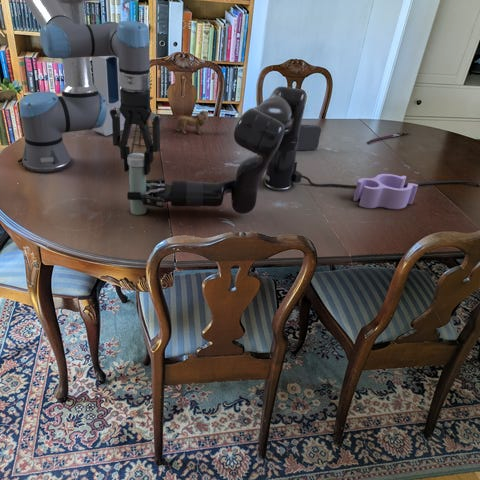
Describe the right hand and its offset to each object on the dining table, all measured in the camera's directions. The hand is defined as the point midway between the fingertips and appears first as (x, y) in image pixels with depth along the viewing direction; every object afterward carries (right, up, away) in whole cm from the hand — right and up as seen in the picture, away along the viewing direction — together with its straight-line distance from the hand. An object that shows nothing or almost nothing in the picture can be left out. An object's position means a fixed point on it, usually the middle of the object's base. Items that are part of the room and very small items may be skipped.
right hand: (128, 191), depth 135 cm
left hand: (+3, +5, -3) cm, 7 cm away
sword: (+101, +32, +79) cm, 132 cm away
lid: (+4, +9, -5) cm, 11 cm away
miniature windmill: (-4, +19, +41) cm, 45 cm away
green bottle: (+2, -5, +4) cm, 7 cm away
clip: (+81, -1, +24) cm, 84 cm away
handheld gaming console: (+53, +23, +56) cm, 81 cm away
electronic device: (-21, +31, +55) cm, 67 cm away
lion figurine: (+12, +32, +63) cm, 71 cm away
